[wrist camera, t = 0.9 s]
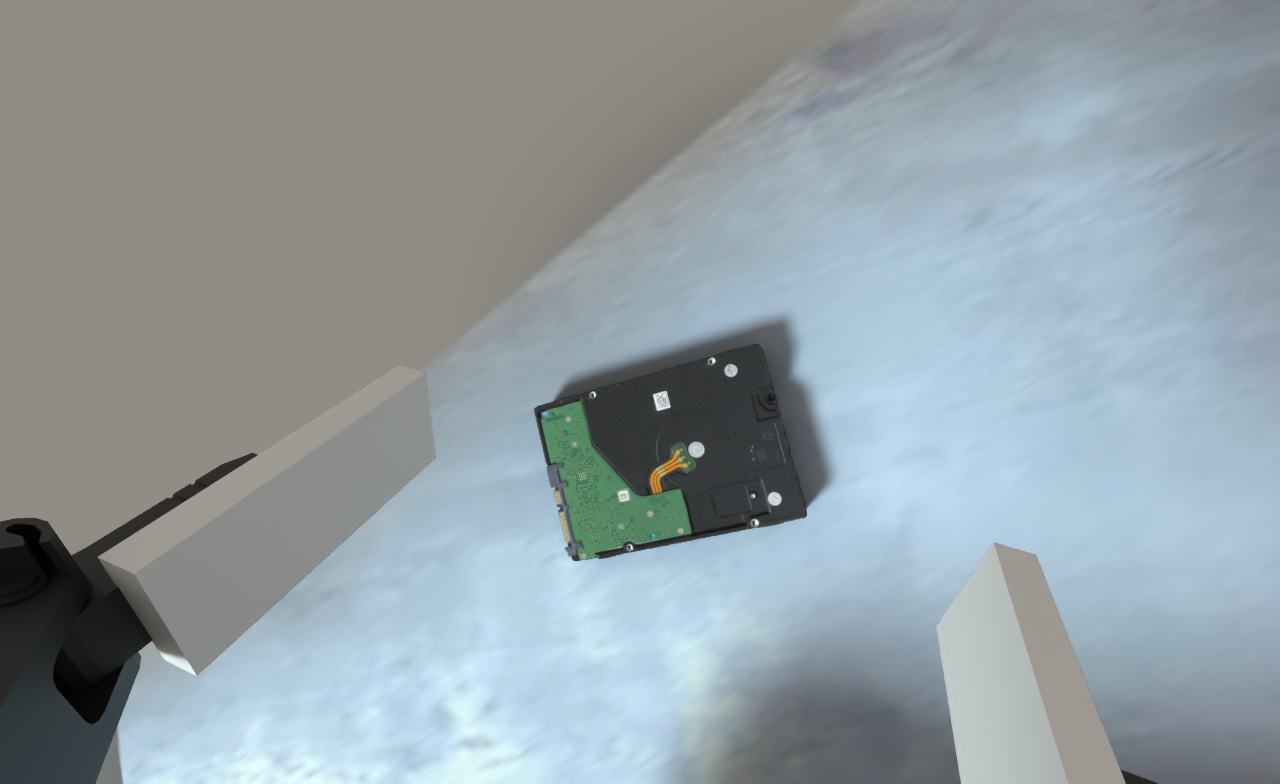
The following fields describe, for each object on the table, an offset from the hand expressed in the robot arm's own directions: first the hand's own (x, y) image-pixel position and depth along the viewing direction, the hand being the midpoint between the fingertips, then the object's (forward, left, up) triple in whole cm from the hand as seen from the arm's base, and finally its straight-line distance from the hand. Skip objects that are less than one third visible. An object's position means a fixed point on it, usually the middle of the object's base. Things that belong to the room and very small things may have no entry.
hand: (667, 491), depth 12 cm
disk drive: (-1, +5, -21) cm, 22 cm away
